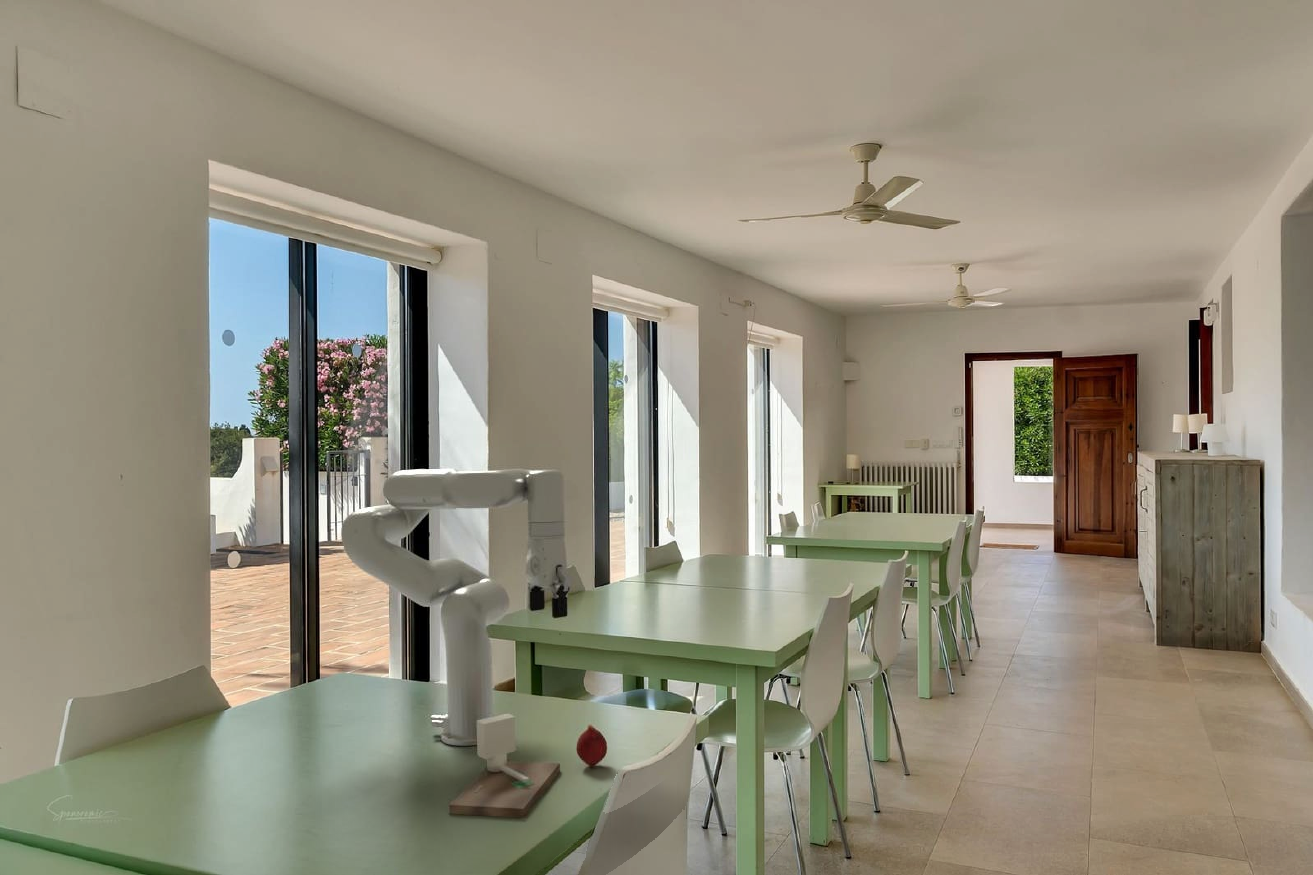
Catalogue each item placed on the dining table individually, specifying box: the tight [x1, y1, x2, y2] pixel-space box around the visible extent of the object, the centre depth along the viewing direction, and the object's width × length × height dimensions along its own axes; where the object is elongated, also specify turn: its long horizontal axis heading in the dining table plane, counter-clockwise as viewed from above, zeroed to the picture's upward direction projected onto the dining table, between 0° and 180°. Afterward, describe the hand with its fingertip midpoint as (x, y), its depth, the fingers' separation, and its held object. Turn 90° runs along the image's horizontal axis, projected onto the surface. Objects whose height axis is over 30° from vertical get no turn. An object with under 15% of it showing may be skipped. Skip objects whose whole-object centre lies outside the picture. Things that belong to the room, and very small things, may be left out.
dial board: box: [448, 760, 561, 819], centre depth 162 cm, size 13×21×2 cm, turn 169°
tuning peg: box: [476, 712, 529, 782], centre depth 165 cm, size 12×6×9 cm, turn 39°
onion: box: [575, 723, 608, 768], centre depth 173 cm, size 6×6×8 cm
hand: (548, 613), depth 186 cm, fingers open, 9 cm apart
